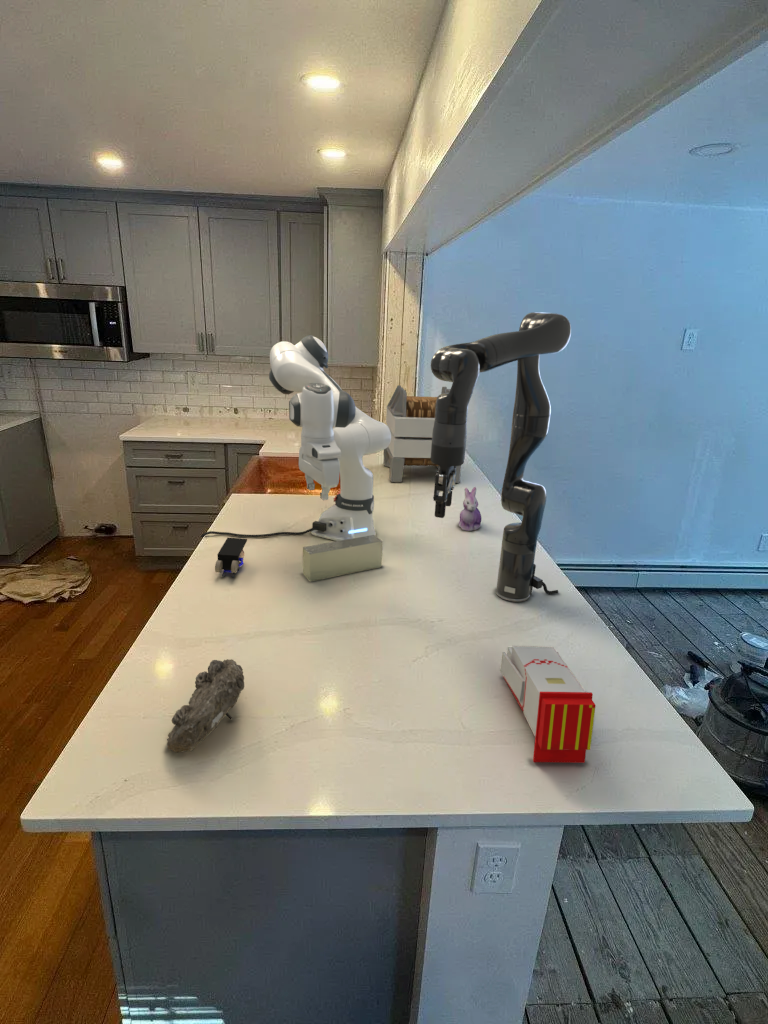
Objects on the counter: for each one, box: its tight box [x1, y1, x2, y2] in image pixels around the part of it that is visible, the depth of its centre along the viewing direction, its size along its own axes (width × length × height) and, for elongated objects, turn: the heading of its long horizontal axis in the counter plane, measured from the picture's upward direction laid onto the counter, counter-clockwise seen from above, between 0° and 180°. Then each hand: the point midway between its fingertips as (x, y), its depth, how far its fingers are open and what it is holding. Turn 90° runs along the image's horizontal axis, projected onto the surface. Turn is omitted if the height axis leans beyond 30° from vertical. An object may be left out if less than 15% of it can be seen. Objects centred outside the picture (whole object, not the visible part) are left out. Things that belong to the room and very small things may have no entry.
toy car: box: [214, 537, 248, 578], centre depth 166 cm, size 7×8×15 cm
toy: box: [499, 645, 597, 764], centre depth 112 cm, size 12×13×30 cm
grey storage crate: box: [383, 384, 462, 484], centre depth 268 cm, size 34×33×41 cm
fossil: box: [166, 658, 245, 754], centre depth 106 cm, size 22×10×15 cm
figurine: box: [458, 486, 482, 532], centre depth 206 cm, size 9×10×15 cm
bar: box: [302, 535, 384, 583], centre depth 169 cm, size 24×6×9 cm, turn 120°
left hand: (317, 494), depth 158 cm, fingers open, 8 cm apart
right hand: (443, 511), depth 130 cm, fingers open, 8 cm apart
